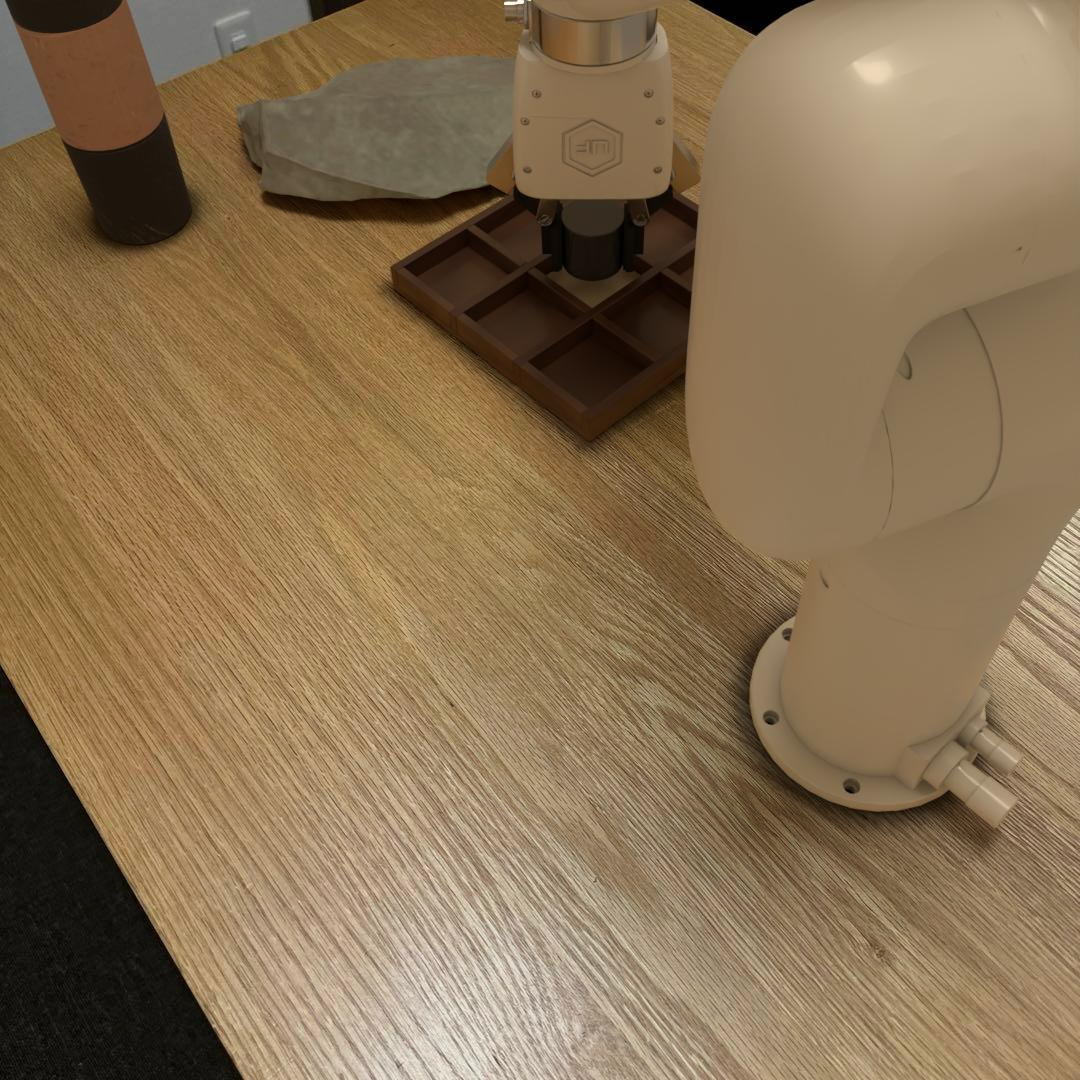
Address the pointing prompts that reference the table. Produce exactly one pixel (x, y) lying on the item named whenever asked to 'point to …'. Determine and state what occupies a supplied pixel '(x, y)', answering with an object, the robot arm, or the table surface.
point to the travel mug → (107, 113)
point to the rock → (385, 130)
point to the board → (562, 310)
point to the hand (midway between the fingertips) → (592, 257)
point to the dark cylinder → (592, 238)
